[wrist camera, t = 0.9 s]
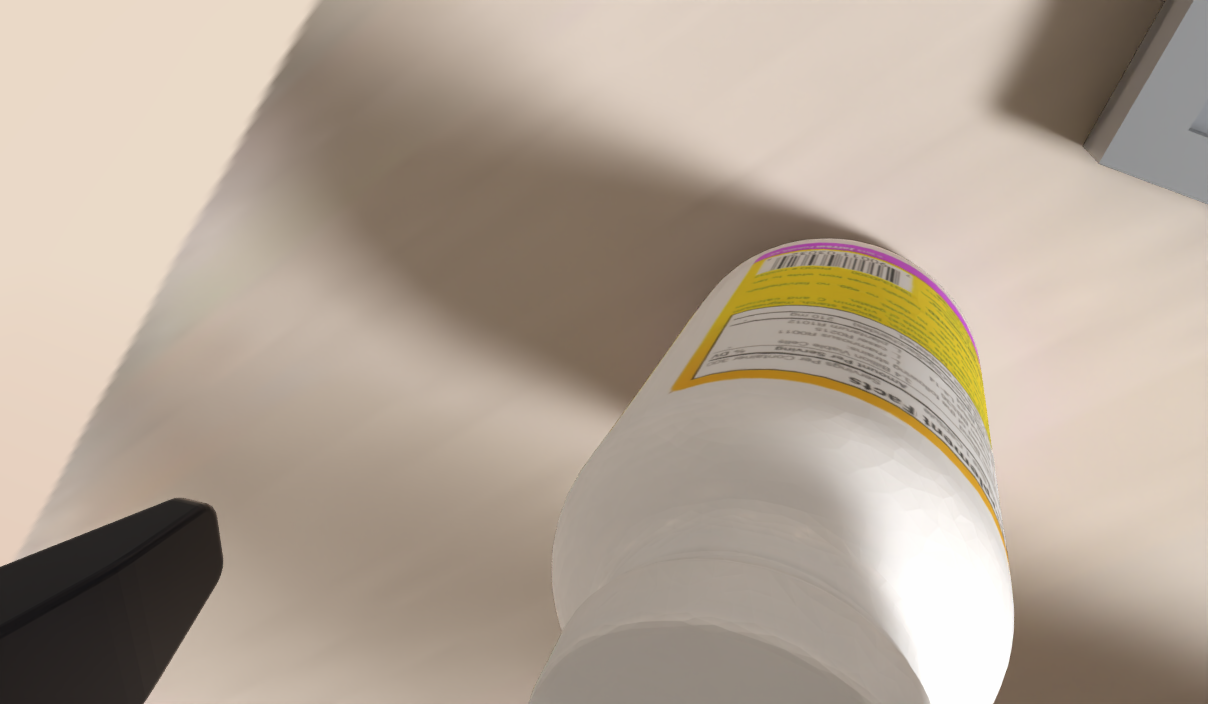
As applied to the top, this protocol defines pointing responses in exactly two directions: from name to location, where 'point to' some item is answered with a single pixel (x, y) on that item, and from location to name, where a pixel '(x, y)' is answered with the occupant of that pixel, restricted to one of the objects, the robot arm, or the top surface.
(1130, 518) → the top surface
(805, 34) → the top surface
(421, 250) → the top surface
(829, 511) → the supplement bottle
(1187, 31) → the tray
